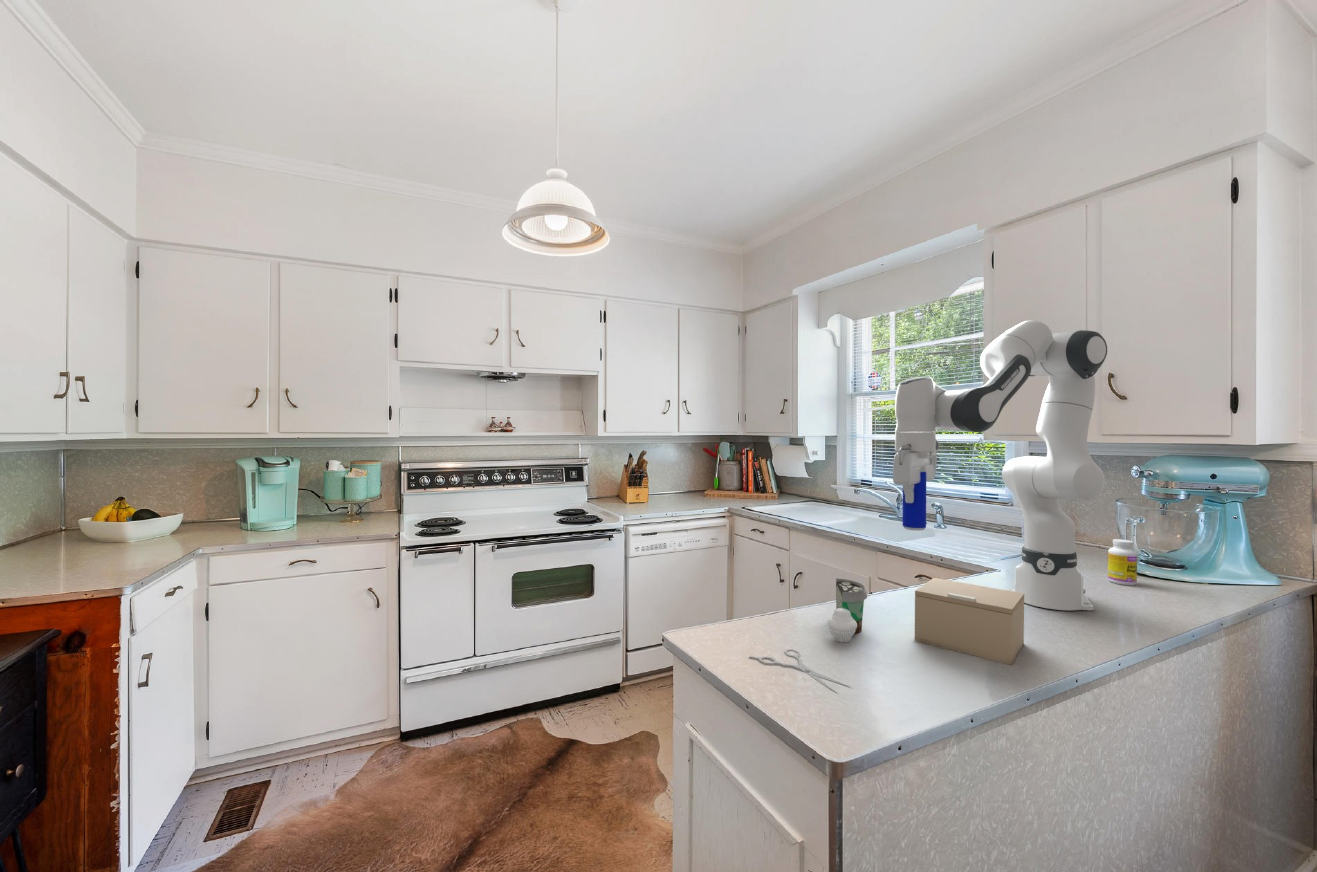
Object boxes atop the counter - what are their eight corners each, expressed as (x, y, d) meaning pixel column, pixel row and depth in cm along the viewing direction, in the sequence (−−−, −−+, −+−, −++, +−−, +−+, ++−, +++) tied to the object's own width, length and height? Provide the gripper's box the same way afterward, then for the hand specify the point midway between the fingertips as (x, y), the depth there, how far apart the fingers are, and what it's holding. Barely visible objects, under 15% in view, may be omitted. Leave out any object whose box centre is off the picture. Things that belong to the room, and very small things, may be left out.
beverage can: (925, 527, 132) (926, 466, 132) (926, 531, 127) (926, 468, 127) (902, 526, 134) (902, 465, 134) (902, 529, 129) (902, 467, 129)
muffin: (823, 640, 119) (823, 608, 118) (833, 632, 123) (834, 601, 123) (851, 647, 115) (851, 614, 114) (861, 638, 119) (861, 607, 119)
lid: (933, 581, 128) (933, 575, 128) (1024, 597, 116) (1024, 590, 116) (914, 595, 118) (915, 587, 118) (1012, 614, 106) (1012, 606, 106)
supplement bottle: (1128, 587, 159) (1128, 543, 159) (1102, 581, 165) (1103, 539, 165) (1142, 584, 161) (1142, 541, 161) (1116, 578, 168) (1117, 537, 167)
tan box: (933, 623, 129) (933, 582, 128) (1023, 644, 116) (1024, 598, 116) (914, 640, 118) (914, 595, 118) (1011, 665, 106) (1012, 614, 106)
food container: (871, 639, 119) (871, 594, 119) (842, 637, 120) (842, 592, 120) (862, 620, 131) (862, 579, 131) (835, 618, 132) (835, 577, 132)
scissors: (786, 645, 115) (866, 682, 98) (786, 649, 115) (866, 686, 98) (748, 656, 109) (826, 696, 92) (748, 659, 109) (826, 701, 92)
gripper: (914, 445, 121) (914, 507, 121) (941, 443, 136) (941, 498, 136) (885, 444, 125) (885, 504, 125) (914, 442, 140) (914, 496, 140)
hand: (914, 501), depth 131 cm, fingers closed on beverage can, 5 cm apart
